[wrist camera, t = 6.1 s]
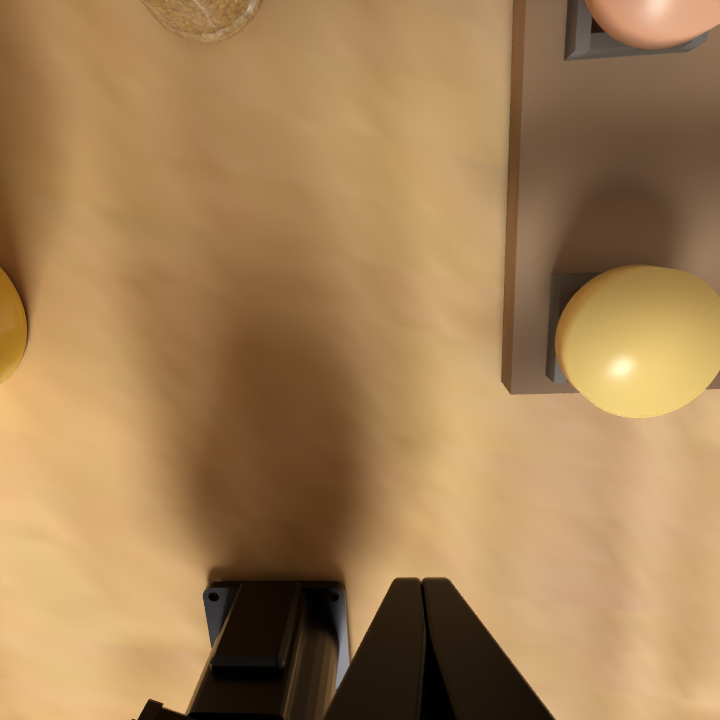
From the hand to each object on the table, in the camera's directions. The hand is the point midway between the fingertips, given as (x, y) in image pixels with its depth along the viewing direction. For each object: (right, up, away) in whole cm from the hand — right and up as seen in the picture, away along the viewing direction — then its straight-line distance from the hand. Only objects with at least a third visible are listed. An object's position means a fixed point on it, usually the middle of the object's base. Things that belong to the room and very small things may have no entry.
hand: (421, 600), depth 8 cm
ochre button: (+7, +5, +8) cm, 12 cm away
